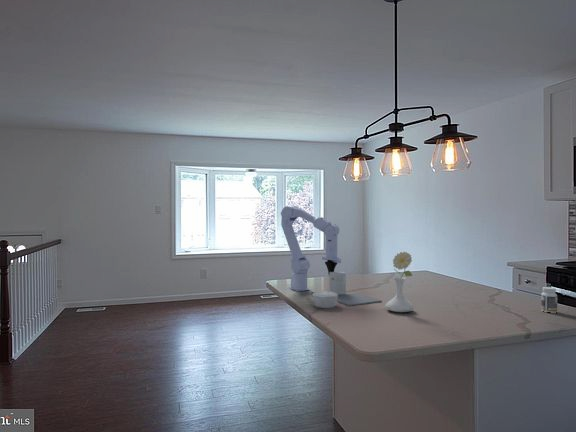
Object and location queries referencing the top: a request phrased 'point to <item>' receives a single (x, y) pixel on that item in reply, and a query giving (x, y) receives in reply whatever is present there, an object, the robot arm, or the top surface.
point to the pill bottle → (549, 300)
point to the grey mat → (356, 299)
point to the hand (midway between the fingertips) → (331, 275)
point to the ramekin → (325, 299)
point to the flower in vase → (400, 284)
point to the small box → (337, 282)
